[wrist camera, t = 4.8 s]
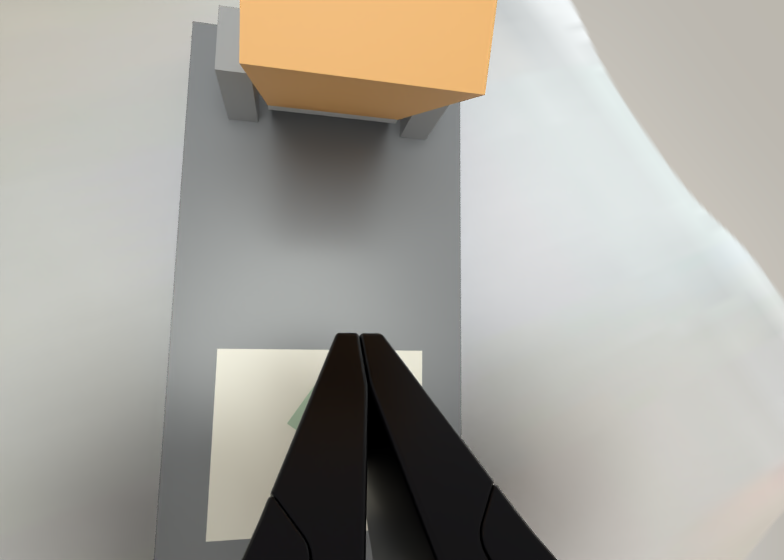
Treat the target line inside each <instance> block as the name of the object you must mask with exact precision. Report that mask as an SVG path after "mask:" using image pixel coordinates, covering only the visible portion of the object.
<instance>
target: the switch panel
mask: <svg viewBox="0 0 784 560" xmlns="http://www.w3.org/2000/svg"><path fill="white" fill-rule="evenodd" d="M239 37H240V8H234V7H227V6H221V5H219V11H218V25H215V24H208V23H201V22H194V21H193V27H192V41H191V55H190V68H189V82H188V96H187V110H186V124H185V137H184V151H183V165H182V179H181V193H180V206H179V220H178V234H177V248H176V262H175V275H174V289H173V303H172V317H171V331H170V344H169V358H168V372H167V386H166V400H165V414H164V427H163V441H162V455H161V469H160V483H159V496H158V510H157V524H156V538H155V552H154V560H241V559H242V557H243V555H244V552H245V550H246V548H247V546H248V544H249V541H250V539H251V537H252V535H253V532H254V530H255V528H256V526H257V524H258V521H259V519H260V516H261V514H262V512H263V509H264V507H265V504H266V502H267V499H268V498H269V497H270V493H271V491H272V488H273V486H274V483H275V481H276V478H277V476H278V473H279V471H280V469H281V466H282V464H283V461H284V459H285V456H286V454H287V452H288V449H289V447H290V444H291V442H292V439H293V437H294V435H295V432H296V430H297V427H298V425H299V422H300V420H301V418H302V415H303V413H304V410H305V408H306V405H307V403H308V400H309V398H310V396H311V393H312V391H313V388H314V386H315V383H316V381H317V379H318V376H319V374H320V371H321V369H322V366H323V364H324V361H325V359H326V357H327V354H328V352H329V349H330V347H331V344H332V342H333V340H334V337H335V335H336V334H337V333H357V334H358V335H359V336H360V334H362V333H380V334H382V335H383V336H384V337H385V338H386V339H387V341H388V342H389V343H390V345H391V346H392V347H393V349H394V350H395V351H396V353H397V354H398V355H399V357H400V358H401V359H402V361H403V362H404V363H405V364H406V366H407V367H408V368H409V370H410V371H411V372H412V374H413V375H414V376H415V378H416V379H417V380H418V382H419V383H420V384H421V386H422V387H423V388H424V390H425V391H426V392H427V394H428V395H429V396H430V398H431V399H432V400H433V402H434V403H435V404H436V406H437V407H438V408H439V410H440V411H441V412H442V413H443V415H444V416H445V417H446V419H447V420H448V421H449V423H450V424H451V425H452V427H453V428H454V429H455V431H456V432H457V433H458V435H459V436H460V437H461V260H460V102H458V103H454V104H451V105H447V106H444V107H441V108H437V109H434V110H430V111H427V112H423V113H420V114H416V115H413V116H409V117H406V118H402V119H399V120H397V122H396V123H386V122H377V121H368V120H359V119H350V118H341V117H332V116H323V115H314V114H305V113H295V112H286V111H277V110H268V105H267V103H266V102H265V100H264V99H263V97H262V96H261V95H260V93H259V92H258V90H257V89H256V87H255V86H254V84H253V83H252V81H251V80H250V78H249V77H248V75H247V74H246V72H245V71H244V70H243V68H242V67H241V65H240V64H239ZM366 560H373V557H372V550H371V544H370V537H369V531H368V525H367V518H366Z"/></svg>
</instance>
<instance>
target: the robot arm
mask: <svg viewBox="0 0 784 560" xmlns="http://www.w3.org/2000/svg"><path fill="white" fill-rule="evenodd" d="M366 518H367V525H368V531H369V537H370V544H371V550H372V557H373V560H557V559H556V558H555V557H554V555H553V554H552V553H551V552H550V551H549V550H548V549H547V547H546V546H545V545H544V544H543V543H542V542H541V541H540V539H539V538H538V537H537V536H536V535H535V534H534V532H533V531H532V530H531V529H530V527H529V526H528V525H527V524H526V522H525V521H524V520H523V519H522V517H521V516H520V515H519V514H518V512H517V511H516V510H515V508H514V507H513V506H512V505H511V503H510V502H509V501H508V499H507V498H506V497H505V495H504V494H503V493H502V491H501V490H500V489H499V487H498V486H497V485H493V480H492V478H491V477H490V476H489V474H488V473H487V472H486V470H485V469H484V468H483V466H482V465H481V464H480V462H479V461H478V460H477V459H476V457H475V456H474V455H473V453H472V452H471V451H470V449H469V448H468V447H467V445H466V444H465V443H464V441H463V440H462V439H461V437H460V436H459V435H458V433H457V432H456V431H455V429H454V428H453V427H452V425H451V424H450V423H449V421H448V420H447V419H446V417H445V416H444V415H443V413H442V412H441V411H440V410H439V408H438V407H437V406H436V404H435V403H434V402H433V400H432V399H431V398H430V396H429V395H428V394H427V392H426V391H425V390H424V388H423V387H422V386H421V384H420V383H419V382H418V380H417V379H416V378H415V376H414V375H413V374H412V372H411V371H410V370H409V368H408V367H407V366H406V364H405V363H404V362H403V361H402V359H401V358H400V357H399V355H398V354H397V353H396V351H395V350H394V349H393V347H392V346H391V345H390V343H389V342H388V341H387V339H386V338H385V337H384V336H383V335H382V334H380V333H362V334H360V336H359V335H358V334H357V333H337V334H336V335H335V337H334V340H333V342H332V344H331V347H330V349H329V352H328V354H327V357H326V359H325V361H324V364H323V366H322V369H321V371H320V374H319V376H318V379H317V381H316V383H315V386H314V388H313V391H312V393H311V396H310V398H309V400H308V403H307V405H306V408H305V410H304V413H303V415H302V418H301V420H300V422H299V425H298V427H297V430H296V432H295V435H294V437H293V439H292V442H291V444H290V447H289V449H288V452H287V454H286V456H285V459H284V461H283V464H282V466H281V469H280V471H279V473H278V476H277V478H276V481H275V483H274V486H273V488H272V491H271V493H270V497H269V498H268V499H267V502H266V504H265V507H264V509H263V512H262V514H261V516H260V519H259V521H258V524H257V526H256V528H255V530H254V532H253V535H252V537H251V539H250V541H249V544H248V546H247V548H246V550H245V552H244V555H243V557H242V559H241V560H366Z"/></svg>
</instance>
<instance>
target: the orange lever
mask: <svg viewBox="0 0 784 560" xmlns="http://www.w3.org/2000/svg"><path fill="white" fill-rule="evenodd" d="M496 6H497V0H240V37H239V64H240V65H241V67H242V68H243V70H244V71H245V72H246V74H247V75H248V77H249V78H250V80H251V81H252V83H253V84H254V86H255V87H256V89H257V90H258V92H259V93H260V95H261V96H262V97H263V99H264V100H265V102H266V103H267V105H268V110H277V111H286V112H295V113H305V114H314V115H323V116H332V117H341V118H350V119H359V120H368V121H377V122H386V123H396V122H397V120H399V119H402V118H406V117H409V116H413V115H416V114H420V113H423V112H427V111H430V110H434V109H437V108H441V107H444V106H447V105H451V104H454V103H458V102H461V101H465V100H468V99H472V98H475V97H479V96H482V95H485V89H486V82H487V74H488V67H489V59H490V52H491V44H492V36H493V29H494V21H495V14H496Z"/></svg>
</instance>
